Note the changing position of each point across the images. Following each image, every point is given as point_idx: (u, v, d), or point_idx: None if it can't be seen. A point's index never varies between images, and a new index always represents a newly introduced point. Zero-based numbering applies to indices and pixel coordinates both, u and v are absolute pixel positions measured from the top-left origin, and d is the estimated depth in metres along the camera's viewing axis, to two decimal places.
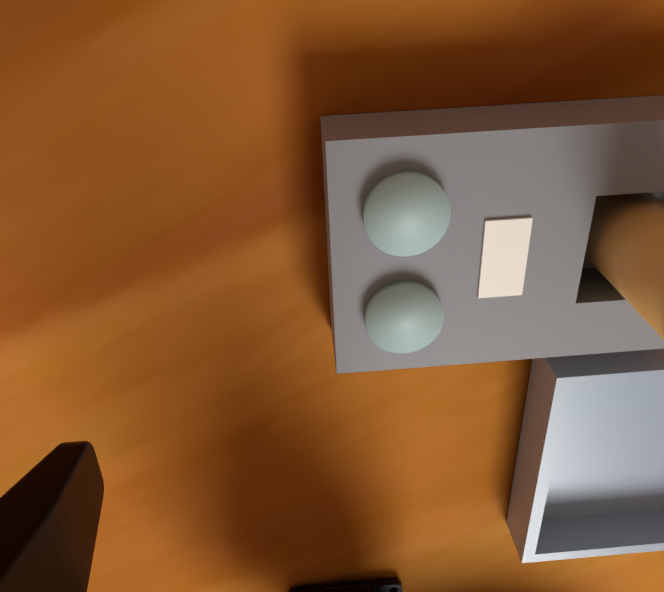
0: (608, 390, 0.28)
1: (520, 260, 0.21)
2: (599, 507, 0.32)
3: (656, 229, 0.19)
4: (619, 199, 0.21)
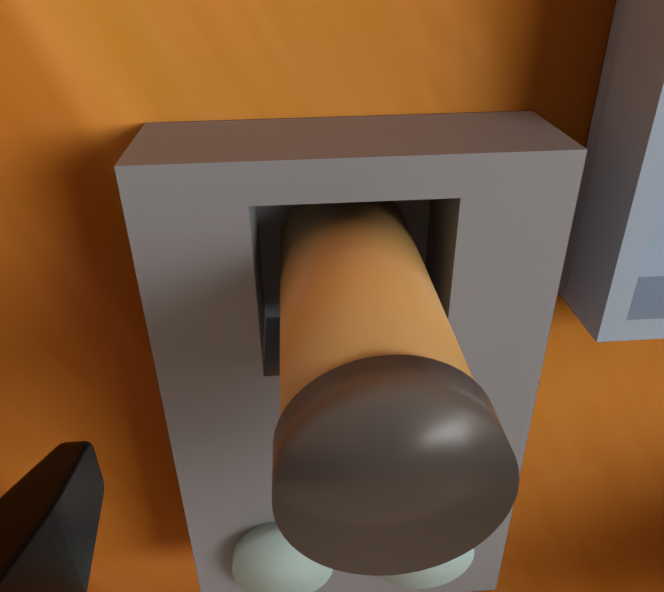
0: None
1: None
2: None
3: None
4: None
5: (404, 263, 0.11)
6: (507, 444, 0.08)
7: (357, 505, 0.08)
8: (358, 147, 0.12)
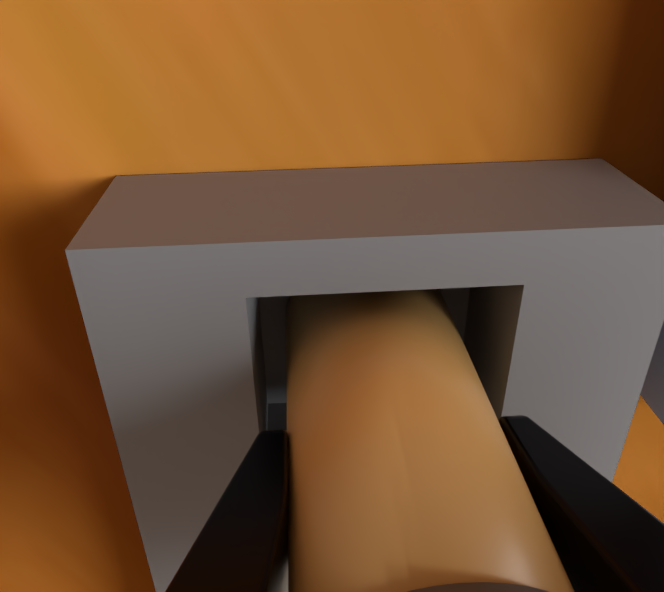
0: None
1: None
2: None
3: None
4: None
5: (455, 381, 0.08)
6: None
7: None
8: (390, 218, 0.09)
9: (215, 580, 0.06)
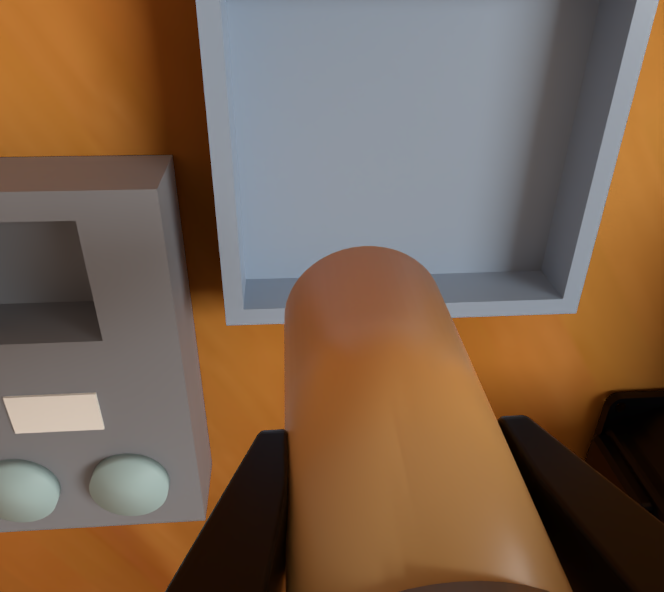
0: (302, 199, 0.20)
1: (55, 398, 0.20)
2: (546, 162, 0.20)
3: None
4: None
5: (454, 380, 0.08)
6: None
7: None
8: (3, 184, 0.17)
9: (215, 580, 0.06)
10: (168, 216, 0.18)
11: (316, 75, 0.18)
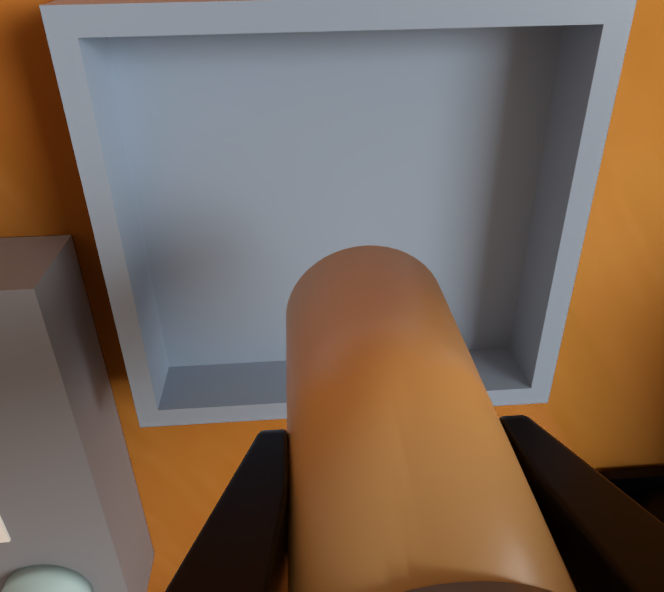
0: (224, 280, 0.17)
1: None
2: (506, 231, 0.17)
3: None
4: None
5: (457, 379, 0.08)
6: None
7: None
8: None
9: (215, 580, 0.06)
10: (61, 311, 0.16)
11: (227, 144, 0.15)
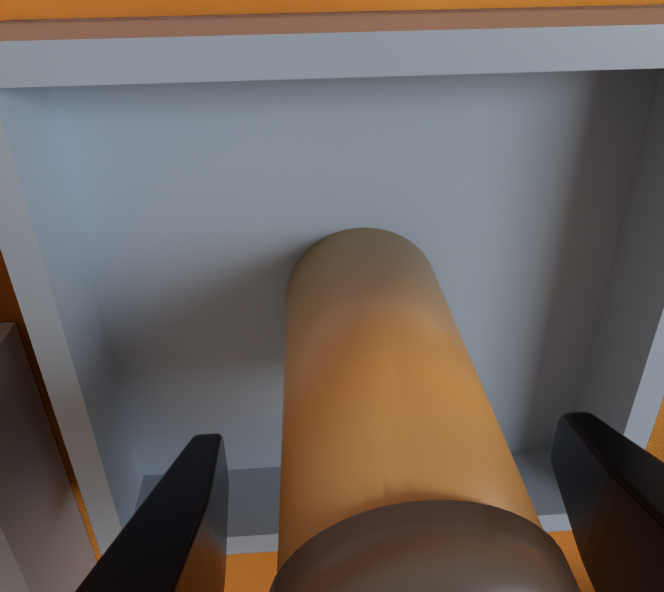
0: (212, 376, 0.14)
1: None
2: (571, 316, 0.14)
3: None
4: None
5: (439, 342, 0.09)
6: None
7: None
8: None
9: (121, 587, 0.06)
10: None
11: (213, 214, 0.12)
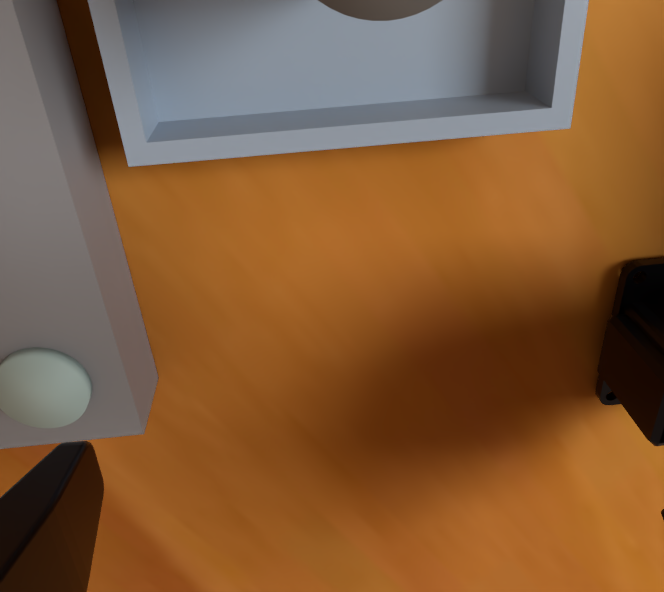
0: (212, 2, 0.16)
1: None
2: None
3: None
4: None
5: None
6: None
7: None
8: None
9: None
10: (33, 16, 0.15)
11: None
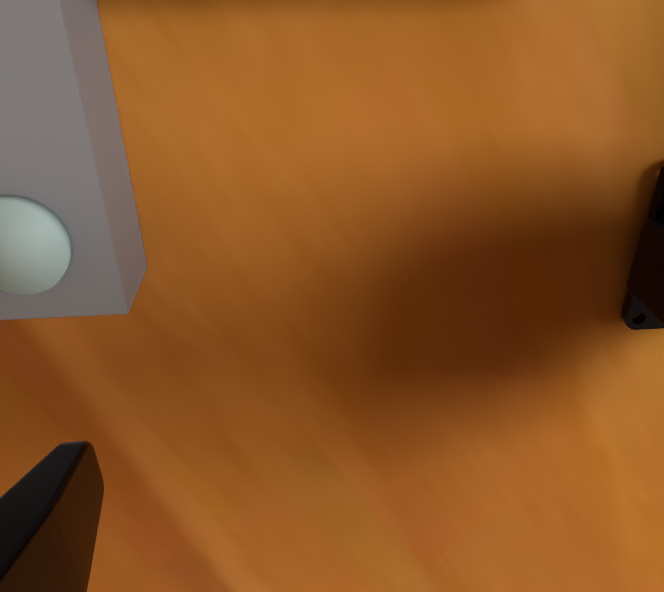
0: None
1: None
2: None
3: None
4: None
5: None
6: None
7: None
8: None
9: None
10: None
11: None
